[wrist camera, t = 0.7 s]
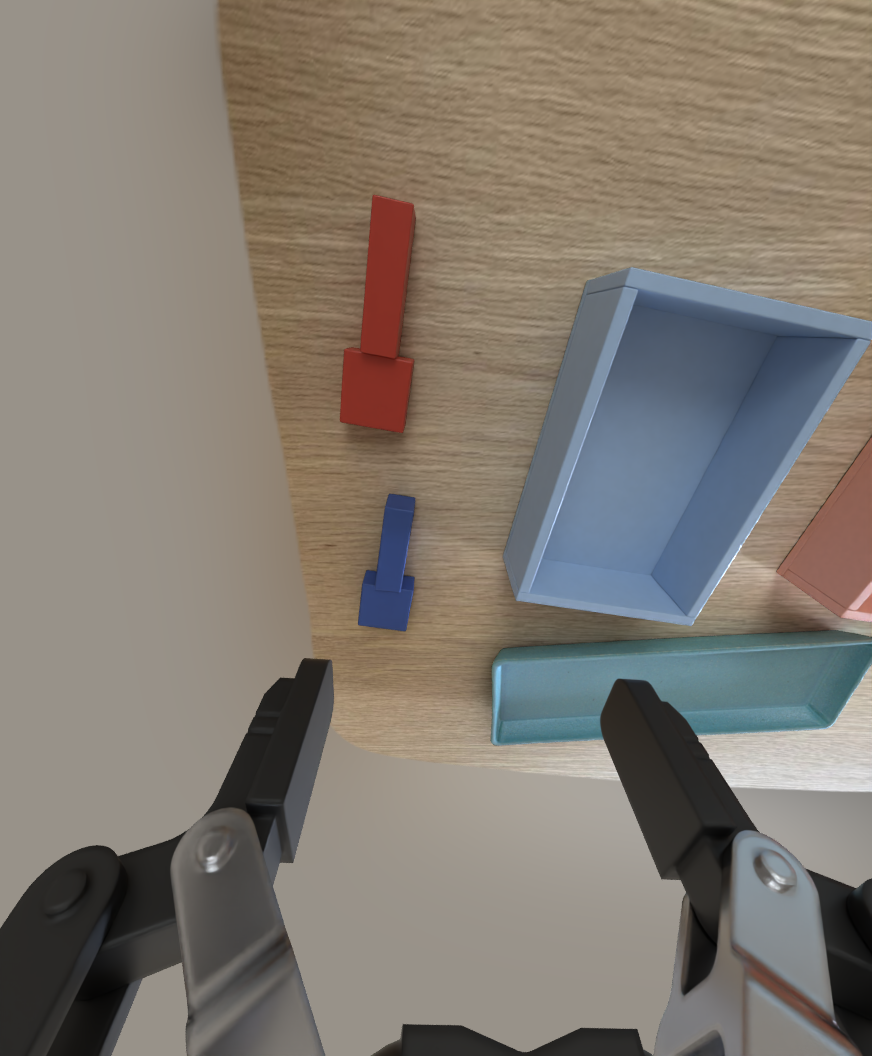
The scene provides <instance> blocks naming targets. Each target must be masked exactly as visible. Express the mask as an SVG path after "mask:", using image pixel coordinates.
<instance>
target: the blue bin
mask: <svg viewBox="0 0 872 1056" xmlns="http://www.w3.org/2000/svg"><path fill="white" fill-rule="evenodd" d="M869 340H872V321H867V320H863V319H859V318H854V317H850V316H845V315H841V314H836V313H832V312H828V311H823V310H819V309H814V308H810V307H805V306H801V305H797V304H792V303H788V302H783V301H779V300H775V299H770V298H766V297H761V296H757V295H752V294H748V293H744V292H739V291H735V290H730V289H726V288H721V287H717V286H713V285H708V284H704V283H699V282H695V281H690V280H686V279H682V278H677V277H673V276H668V275H664V274H660V273H655V272H651V271H646V270H642V269H637V268H633V267H631V268H627V269H624V270H621V271H618V272H614V273H611V274H608V275H605V276H601V277H598V278H595V279H592V280H588V281H587V282H586V285H585V289H584V292H583V295H582V298H581V302H580V305H579V308H578V311H577V315H576V318H575V321H574V325H573V328H572V331H571V334H570V338H569V341H568V344H567V348H566V351H565V354H564V357H563V361H562V364H561V367H560V370H559V374H558V377H557V380H556V384H555V387H554V390H553V393H552V397H551V400H550V403H549V407H548V410H547V413H546V416H545V420H544V423H543V426H542V429H541V433H540V436H539V439H538V443H537V446H536V449H535V452H534V456H533V459H532V462H531V466H530V469H529V472H528V475H527V479H526V482H525V485H524V488H523V492H522V495H521V498H520V502H519V505H518V508H517V511H516V515H515V518H514V521H513V525H512V528H511V531H510V534H509V538H508V541H507V544H506V547H505V551H504V554H503V559H504V563H505V566H506V569H507V573H508V576H509V579H510V583H511V586H512V589H513V593H514V596H515V600H516V601H522V602H529V603H536V604H543V605H550V606H557V607H564V608H571V609H578V610H585V611H592V612H598V613H605V614H612V615H619V616H626V617H633V618H640V619H647V620H654V621H661V622H668V623H675V624H682V625H689V626H691V625H692V624H693V622H694V621H695V619H696V617H697V616H698V614H699V613H700V611H701V609H702V608H703V606H704V605H705V603H706V602H707V600H708V598H709V597H710V595H711V594H712V592H713V590H714V589H715V587H716V586H717V584H718V583H719V581H720V579H721V578H722V576H723V575H724V573H725V572H726V570H727V568H728V567H729V565H730V564H731V562H732V560H733V559H734V557H735V556H736V554H737V553H738V551H739V549H740V548H741V546H742V545H743V543H744V542H745V540H746V538H747V537H748V535H749V534H750V532H751V530H752V529H753V527H754V526H755V524H756V523H757V521H758V519H759V518H760V516H761V515H762V513H763V512H764V510H765V508H766V507H767V505H768V504H769V502H770V500H771V499H772V497H773V496H774V494H775V493H776V491H777V489H778V488H779V486H780V485H781V483H782V482H783V480H784V478H785V477H786V475H787V474H788V472H789V470H790V469H791V467H792V466H793V464H794V463H795V461H796V459H797V458H798V456H799V455H800V453H801V452H802V450H803V448H804V447H805V445H806V444H807V442H808V440H809V439H810V437H811V436H812V434H813V433H814V431H815V429H816V428H817V426H818V425H819V423H820V422H821V420H822V418H823V417H824V415H825V414H826V412H827V410H828V409H829V407H830V406H831V404H832V403H833V401H834V399H835V398H836V396H837V395H838V393H839V392H840V390H841V388H842V387H843V385H844V384H845V382H846V380H847V379H848V377H849V376H850V374H851V373H852V371H853V369H854V368H855V366H856V365H857V363H858V362H859V360H860V358H861V357H862V355H863V354H864V352H865V350H866V349H867V347H868V346H869V344H870V341H869Z"/></svg>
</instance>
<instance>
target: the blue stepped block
mask: <svg viewBox="0 0 872 1056" xmlns="http://www.w3.org/2000/svg"><path fill="white" fill-rule="evenodd" d="M414 508H415V498H414V497H408V496H402V495H395V494H389V495H388V499H387V502H386V506H385V512H384V519H383V527H382V535H381V542H380V550H379V558H378V565H377V571H370V570H367V571H366V573H365V577H364V580H363V584H362V592H361V601H360V610H359V619H358V625H361V626H368V627H376V628H383V629H391V630H398V631H406V629H407V623H408V618H409V613H410V607H411V602H412V597H413V591H414V579H415V578H414V577H411V576H404V569H405V563H406V557H407V551H408V545H409V539H410V533H411V527H412V522H413V516H414Z"/></svg>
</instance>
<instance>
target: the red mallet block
mask: <svg viewBox="0 0 872 1056" xmlns="http://www.w3.org/2000/svg"><path fill="white" fill-rule="evenodd" d="M415 221H416V216H415V210H414V205H413V204H412V203H408V202H403V201H399V200H395V199H390V198H386V197H382V196H377V195H373V197H372V210H371V222H370V235H369V247H368V259H367V272H366V284H365V297H364V309H363V322H362V334H361V347H360V349H359V348H354V347H351V348H346V349H345V350H344V361H343V377H342V393H341V409H340V422H342V423H348V424H354V425H359V426H365V427H370V428H376V429H382V430H387V431H393V432H399V433H403V431H404V428H405V424H406V417H407V410H408V403H409V396H410V389H411V381H412V374H413V367H414V359H411V358H405V357H400V356H399V350H400V342H401V334H402V326H403V318H404V310H405V302H406V294H407V285H408V277H409V269H410V261H411V253H412V245H413V237H414V229H415Z"/></svg>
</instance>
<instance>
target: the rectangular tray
mask: <svg viewBox="0 0 872 1056" xmlns="http://www.w3.org/2000/svg"><path fill="white" fill-rule="evenodd" d="M871 665H872V637H869V636H864V635H860V634H855V633H849V632H843V631H838V630H827V631H806V632H786V633H764V634H743V635H722V636H702V637H682V638H664V639H648V640H628V641H613V642H596V643H580V644H563V645H546V646H529V647H514V648H504V649H502V650H500V652H499V653H498V655H497V656H496V658H495V660H494V662H493V664H492V725H491V742H492V744H493V745H496V746H499V745H515V744H532V743H550V742H569V741H588V740H604V739H603V736H602V732H601V727H600V716H601V712H602V710H603V707H604V705H605V703H606V701H607V698H608V696H609V694H610V691H611V689H612V687H613V684H614V682H615V681H616V680H617V679H635V680H646V681H648V682H649V683H650V684H651V685H652V687H653V688H654V690H655V692H656V693H657V695H658V697H659V698H660V700H661V701H665V702H668V703H670V704H671V705H672V706H673V707H674V708H675V709H676V710H677V711H678V712H679V713H680V714H681V715H682V716H683V717H684V718H685V719H686V720H687V722H688V723H689V725H690V726H691V728H692V730H693V731H694V733H695V734H696V735H716V734H736V733H759V732H779V731H799V730H816V729H827V728H829V727H831V726H833V724H834V723H835V721H836V720H837V718H838V716H839V715H840V713H841V712H842V710H843V708H844V707H845V705H846V704H847V702H848V701H849V699H850V697H851V696H852V694H853V693H854V691H855V690H856V688H857V687H858V685H859V683H860V682H861V680H862V679H863V677H864V675H865V674H866V672H867V671H868V669H869V668H870V666H871Z"/></svg>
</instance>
